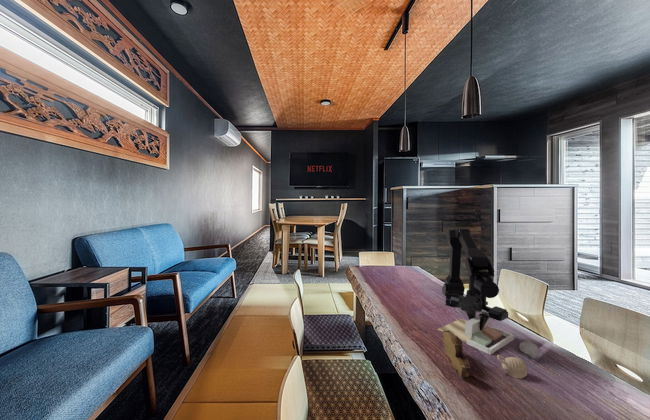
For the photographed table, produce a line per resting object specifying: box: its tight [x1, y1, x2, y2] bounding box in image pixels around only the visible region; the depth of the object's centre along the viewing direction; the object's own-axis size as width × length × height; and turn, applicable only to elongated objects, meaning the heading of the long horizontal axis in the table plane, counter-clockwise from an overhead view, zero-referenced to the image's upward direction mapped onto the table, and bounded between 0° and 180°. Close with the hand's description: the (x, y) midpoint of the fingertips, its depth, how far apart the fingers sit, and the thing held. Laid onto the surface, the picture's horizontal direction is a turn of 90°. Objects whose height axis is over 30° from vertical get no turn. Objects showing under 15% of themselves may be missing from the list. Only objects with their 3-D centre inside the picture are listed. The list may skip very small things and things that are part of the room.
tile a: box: [482, 326, 502, 342], centre depth 96 cm, size 4×4×2 cm
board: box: [437, 318, 472, 344], centre depth 101 cm, size 17×12×2 cm
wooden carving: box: [441, 330, 472, 378], centre depth 81 cm, size 16×5×10 cm, turn 179°
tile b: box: [472, 332, 493, 347], centre depth 92 cm, size 4×4×2 cm
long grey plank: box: [465, 315, 490, 338], centre depth 96 cm, size 12×2×5 cm, turn 122°
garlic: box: [518, 338, 540, 360], centre depth 86 cm, size 6×5×5 cm
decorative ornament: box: [496, 354, 528, 380], centre depth 77 cm, size 4×8×5 cm, turn 75°
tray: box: [466, 325, 516, 356], centre depth 92 cm, size 18×8×3 cm, turn 122°
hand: (477, 328), depth 96 cm, fingers closed on long grey plank, 3 cm apart
